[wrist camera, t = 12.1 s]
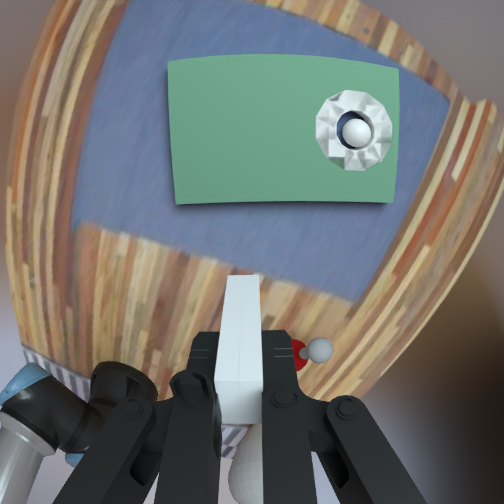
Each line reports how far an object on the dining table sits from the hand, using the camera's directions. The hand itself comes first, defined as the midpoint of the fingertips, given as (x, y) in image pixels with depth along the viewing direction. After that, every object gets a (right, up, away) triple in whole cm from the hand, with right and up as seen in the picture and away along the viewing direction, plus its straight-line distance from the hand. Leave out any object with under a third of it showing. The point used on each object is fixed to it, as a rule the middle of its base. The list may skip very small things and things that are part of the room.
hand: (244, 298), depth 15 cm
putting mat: (+5, +18, +19) cm, 26 cm away
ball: (+13, +17, +17) cm, 27 cm away
